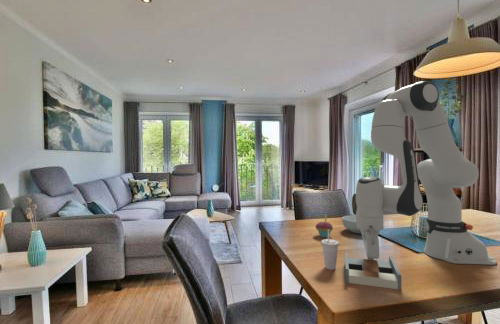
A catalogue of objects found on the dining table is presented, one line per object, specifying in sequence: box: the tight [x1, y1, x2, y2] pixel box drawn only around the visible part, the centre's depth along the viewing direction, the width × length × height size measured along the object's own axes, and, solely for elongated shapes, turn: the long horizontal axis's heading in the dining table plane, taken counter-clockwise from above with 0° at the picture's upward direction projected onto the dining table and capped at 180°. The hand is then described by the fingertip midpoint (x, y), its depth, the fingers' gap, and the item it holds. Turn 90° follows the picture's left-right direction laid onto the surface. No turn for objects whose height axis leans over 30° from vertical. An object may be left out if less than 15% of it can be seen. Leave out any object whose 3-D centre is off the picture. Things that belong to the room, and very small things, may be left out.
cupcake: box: [315, 213, 334, 238], centre depth 135 cm, size 9×8×12 cm
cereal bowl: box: [341, 215, 362, 234], centre depth 142 cm, size 17×17×7 cm
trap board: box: [344, 251, 402, 291], centre depth 91 cm, size 16×16×4 cm
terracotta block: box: [363, 258, 379, 278], centre depth 86 cm, size 4×4×4 cm
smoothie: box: [320, 230, 340, 271], centre depth 98 cm, size 6×6×14 cm
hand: (370, 261), depth 94 cm, fingers closed
